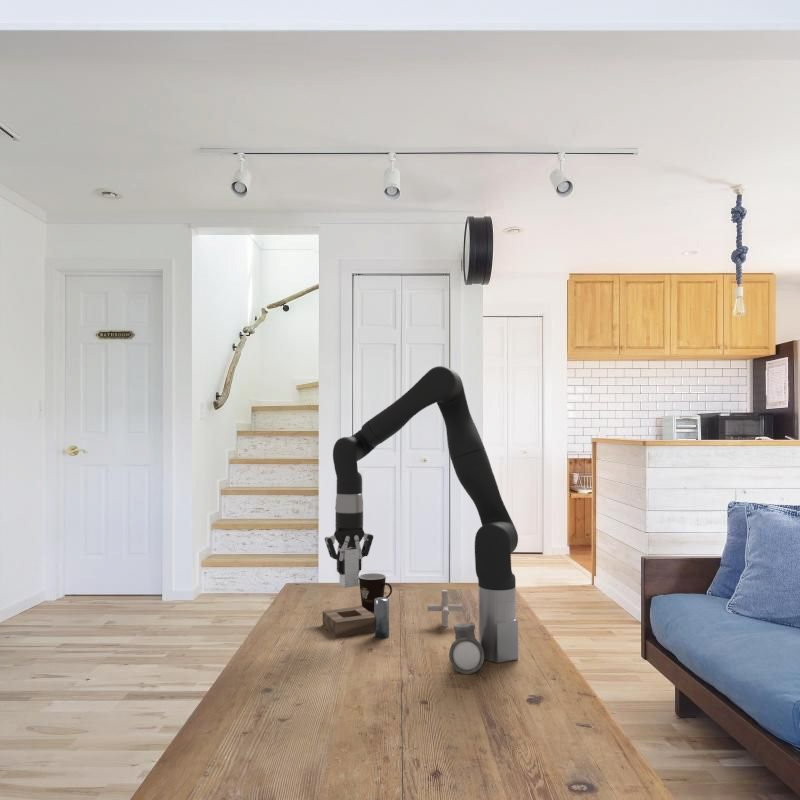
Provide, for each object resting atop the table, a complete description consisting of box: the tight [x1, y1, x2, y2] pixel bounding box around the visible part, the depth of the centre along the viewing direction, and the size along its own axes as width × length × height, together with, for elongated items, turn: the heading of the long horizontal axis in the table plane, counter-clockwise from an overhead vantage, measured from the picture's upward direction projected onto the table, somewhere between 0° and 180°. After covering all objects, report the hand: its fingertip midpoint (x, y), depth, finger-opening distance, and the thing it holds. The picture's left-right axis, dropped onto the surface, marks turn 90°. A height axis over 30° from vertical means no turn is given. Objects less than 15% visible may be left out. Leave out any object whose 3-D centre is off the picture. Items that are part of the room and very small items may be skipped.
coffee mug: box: [359, 572, 393, 612], centre depth 203 cm, size 12×9×10 cm
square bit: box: [339, 547, 360, 589], centre depth 177 cm, size 4×4×10 cm
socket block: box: [322, 605, 375, 638], centre depth 185 cm, size 12×12×4 cm
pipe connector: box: [426, 589, 463, 628], centre depth 186 cm, size 10×10×10 cm
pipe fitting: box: [448, 622, 485, 675], centre depth 156 cm, size 12×8×10 cm
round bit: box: [373, 596, 390, 640], centre depth 178 cm, size 4×4×10 cm
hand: (349, 573), depth 177 cm, fingers closed on square bit, 4 cm apart
